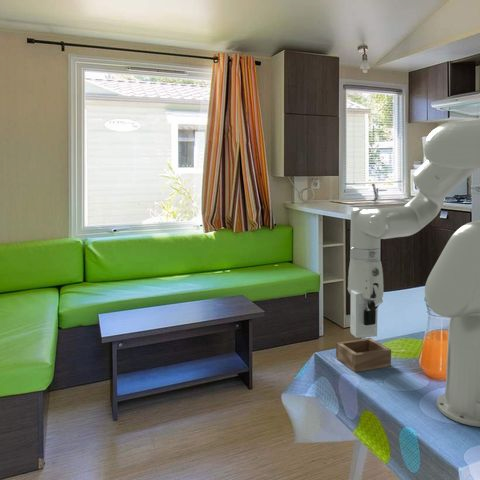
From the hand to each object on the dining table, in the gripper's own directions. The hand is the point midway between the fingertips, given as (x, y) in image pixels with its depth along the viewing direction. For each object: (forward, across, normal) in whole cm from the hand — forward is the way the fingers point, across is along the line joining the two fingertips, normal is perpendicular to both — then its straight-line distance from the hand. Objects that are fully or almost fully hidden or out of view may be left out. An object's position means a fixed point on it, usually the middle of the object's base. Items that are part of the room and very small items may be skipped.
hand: (363, 320), depth 116 cm
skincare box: (+4, 0, 0) cm, 4 cm away
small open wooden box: (+12, 0, 0) cm, 12 cm away
